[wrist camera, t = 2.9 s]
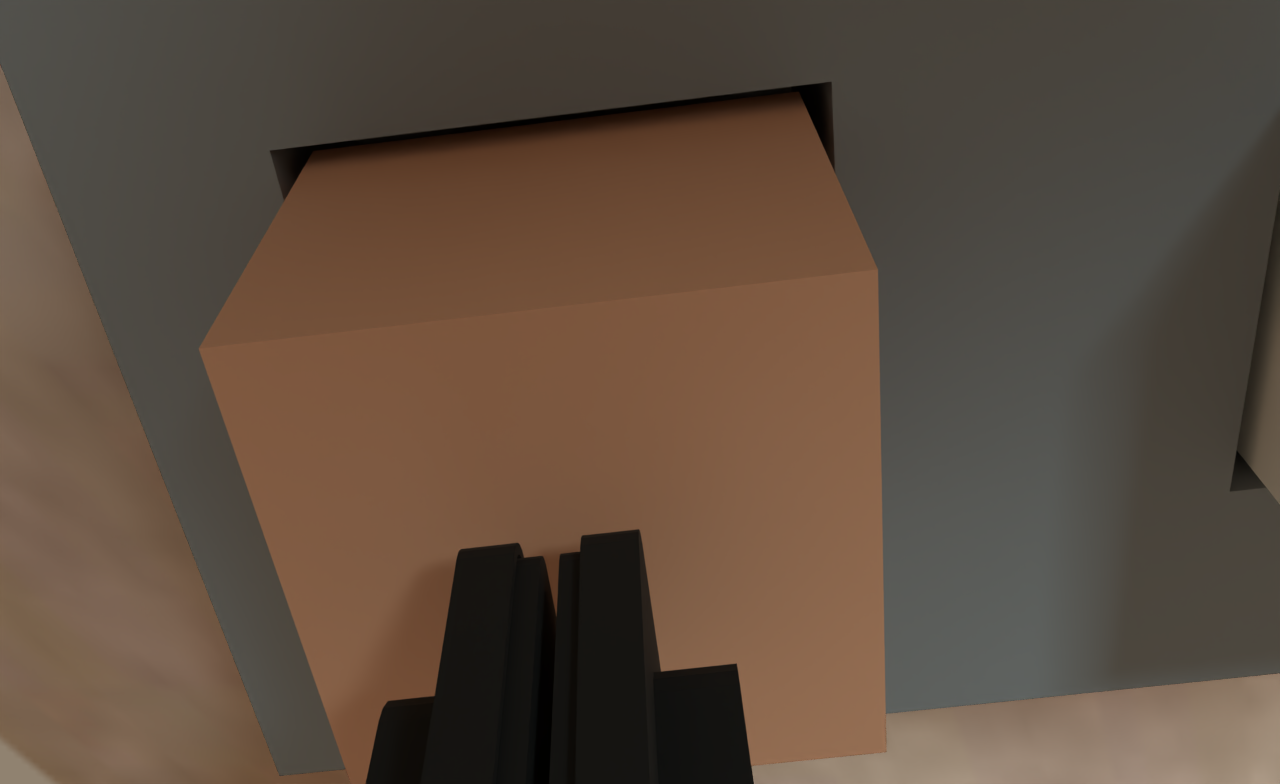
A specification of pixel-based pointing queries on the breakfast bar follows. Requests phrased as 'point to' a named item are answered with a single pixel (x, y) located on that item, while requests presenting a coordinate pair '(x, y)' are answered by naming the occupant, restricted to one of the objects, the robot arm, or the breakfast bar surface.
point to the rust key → (574, 400)
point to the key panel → (893, 230)
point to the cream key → (1265, 380)
